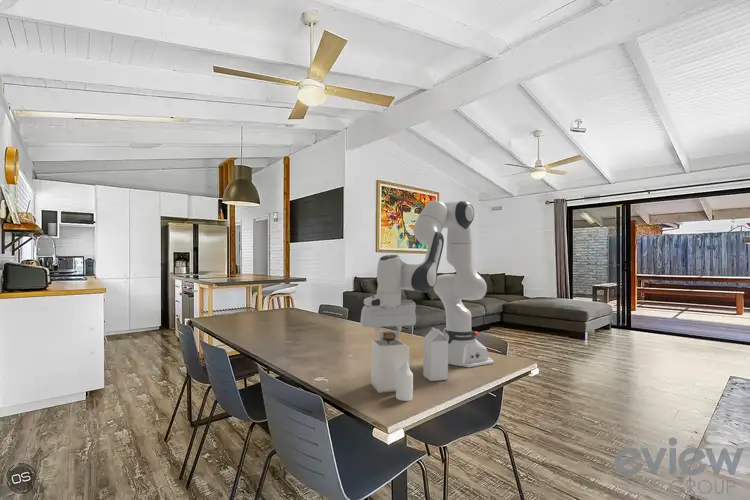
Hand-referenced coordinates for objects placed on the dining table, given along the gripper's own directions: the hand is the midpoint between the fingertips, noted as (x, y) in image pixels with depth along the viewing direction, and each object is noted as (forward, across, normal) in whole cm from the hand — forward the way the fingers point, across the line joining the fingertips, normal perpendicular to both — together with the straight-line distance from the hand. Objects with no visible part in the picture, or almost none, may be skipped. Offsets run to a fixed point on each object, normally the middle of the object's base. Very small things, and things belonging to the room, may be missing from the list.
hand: (388, 338), depth 135 cm
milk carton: (+18, -21, -5) cm, 28 cm away
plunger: (+13, 0, 0) cm, 13 cm away
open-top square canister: (+17, -1, 0) cm, 17 cm away
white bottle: (+18, -2, +11) cm, 21 cm away
